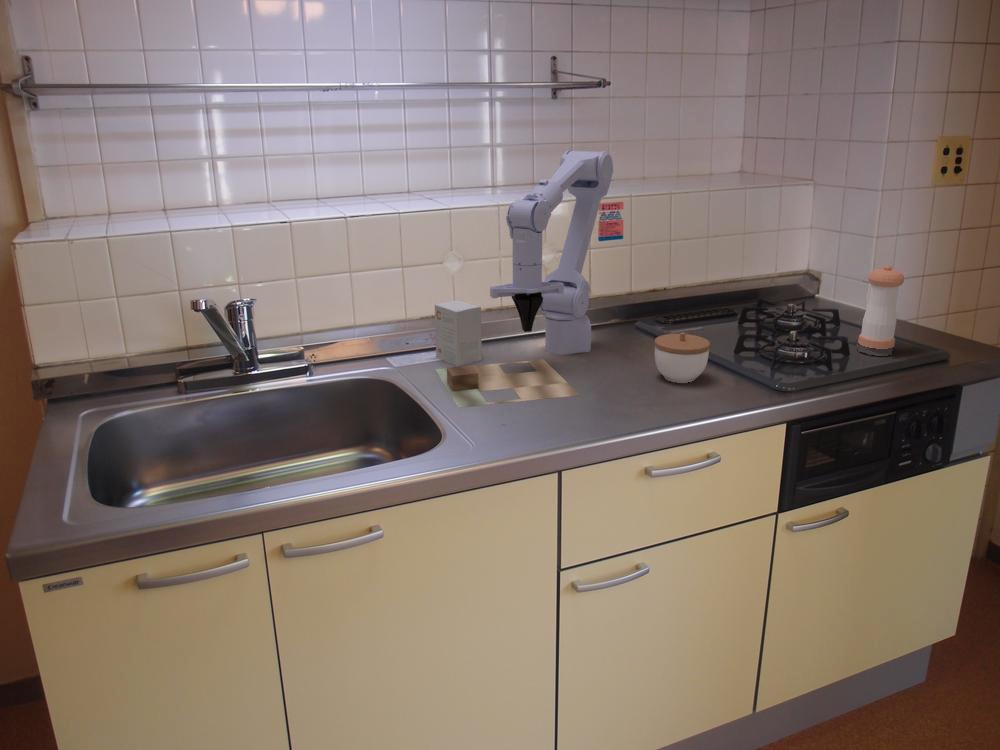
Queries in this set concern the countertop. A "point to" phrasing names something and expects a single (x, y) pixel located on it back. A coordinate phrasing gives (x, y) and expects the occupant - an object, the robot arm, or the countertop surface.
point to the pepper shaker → (881, 309)
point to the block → (462, 378)
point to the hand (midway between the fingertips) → (526, 330)
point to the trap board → (512, 384)
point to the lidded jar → (681, 356)
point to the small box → (458, 332)
